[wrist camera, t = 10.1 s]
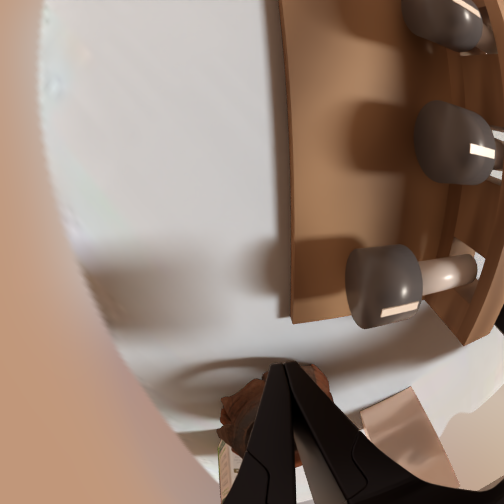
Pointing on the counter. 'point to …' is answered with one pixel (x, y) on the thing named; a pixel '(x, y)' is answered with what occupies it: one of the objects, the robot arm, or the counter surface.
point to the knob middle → (455, 144)
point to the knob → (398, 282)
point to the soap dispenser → (408, 438)
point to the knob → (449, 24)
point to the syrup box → (227, 468)
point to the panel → (385, 154)
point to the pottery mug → (254, 411)
